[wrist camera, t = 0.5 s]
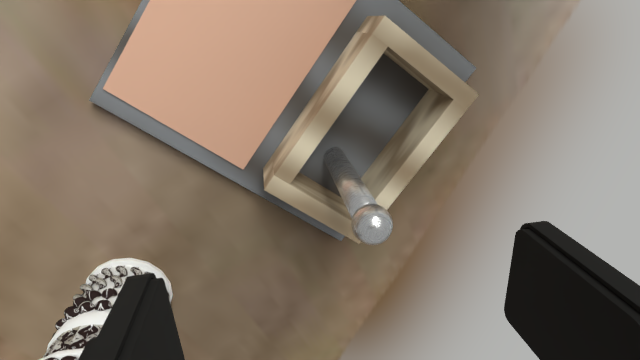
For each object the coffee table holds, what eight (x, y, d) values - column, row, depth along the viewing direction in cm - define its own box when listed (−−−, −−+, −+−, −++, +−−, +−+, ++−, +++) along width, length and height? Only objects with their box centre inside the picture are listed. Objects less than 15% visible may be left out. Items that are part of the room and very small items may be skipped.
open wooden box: (367, 16, 33) (385, 15, 28) (450, 84, 36) (479, 94, 31) (263, 168, 36) (264, 190, 32) (347, 218, 40) (359, 244, 35)
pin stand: (223, -147, 28) (190, -316, 14) (470, 66, 37) (605, 97, 23) (93, 97, 33) (-30, 157, 19) (339, 236, 42) (381, 349, 27)
